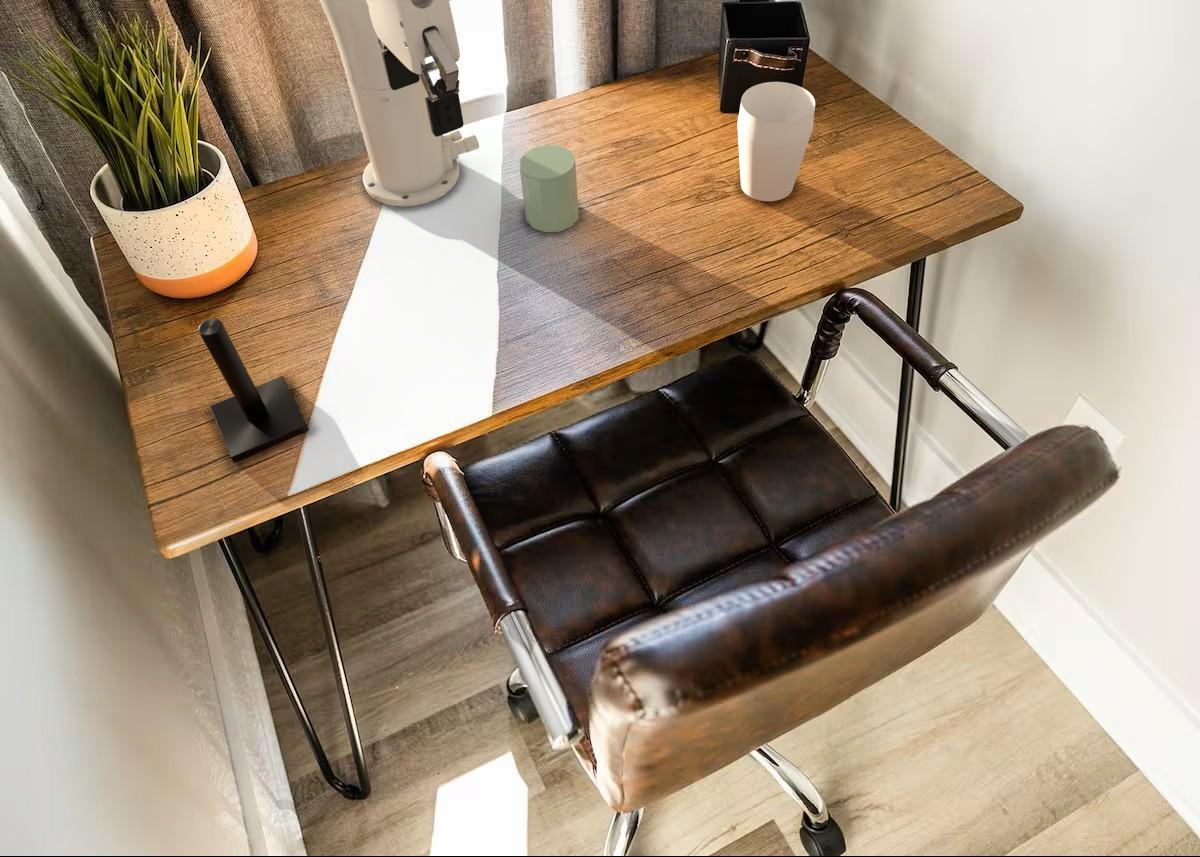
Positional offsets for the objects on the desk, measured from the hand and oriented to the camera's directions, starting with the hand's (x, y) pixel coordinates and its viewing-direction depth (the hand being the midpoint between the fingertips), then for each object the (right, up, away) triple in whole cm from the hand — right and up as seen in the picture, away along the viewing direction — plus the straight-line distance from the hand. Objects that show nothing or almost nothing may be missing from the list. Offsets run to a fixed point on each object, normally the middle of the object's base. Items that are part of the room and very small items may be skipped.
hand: (426, 107), depth 89 cm
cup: (+39, -1, +26) cm, 47 cm away
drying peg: (-18, -31, +4) cm, 37 cm away
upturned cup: (+11, -5, +23) cm, 27 cm away
